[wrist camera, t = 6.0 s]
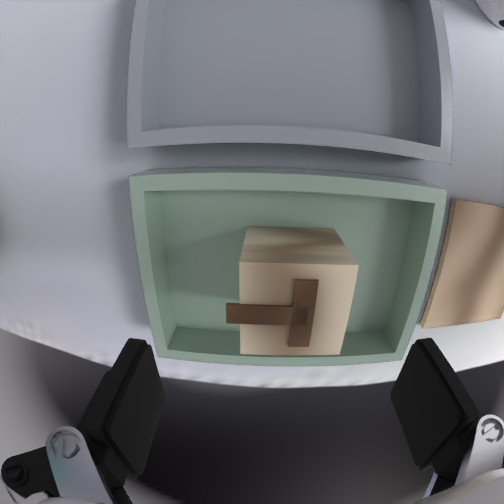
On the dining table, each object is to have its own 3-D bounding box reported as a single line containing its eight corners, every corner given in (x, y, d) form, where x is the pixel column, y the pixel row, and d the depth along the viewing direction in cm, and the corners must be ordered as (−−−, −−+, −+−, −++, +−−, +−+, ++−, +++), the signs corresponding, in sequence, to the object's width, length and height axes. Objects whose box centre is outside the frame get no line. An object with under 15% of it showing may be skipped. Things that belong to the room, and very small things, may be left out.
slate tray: (415, 1, 10) (435, -15, 7) (424, 159, 14) (450, 165, 12) (159, -16, 11) (142, -35, 8) (150, 146, 15) (127, 149, 12)
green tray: (422, 181, 15) (447, 190, 12) (388, 334, 19) (401, 360, 17) (151, 169, 16) (128, 176, 13) (169, 330, 20) (157, 356, 17)
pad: (527, 212, 15) (531, 215, 14) (496, 314, 18) (500, 318, 18) (451, 197, 15) (456, 199, 15) (420, 324, 19) (422, 328, 18)
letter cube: (334, 228, 16) (360, 266, 11) (324, 302, 18) (340, 356, 13) (236, 225, 16) (223, 263, 11) (237, 300, 18) (227, 355, 13)
